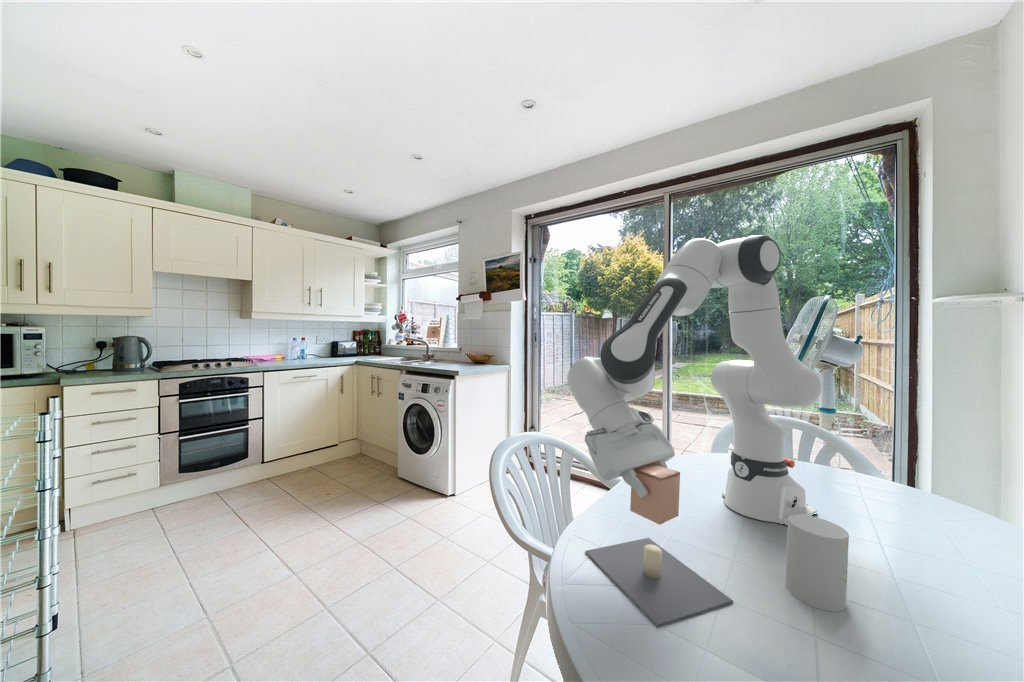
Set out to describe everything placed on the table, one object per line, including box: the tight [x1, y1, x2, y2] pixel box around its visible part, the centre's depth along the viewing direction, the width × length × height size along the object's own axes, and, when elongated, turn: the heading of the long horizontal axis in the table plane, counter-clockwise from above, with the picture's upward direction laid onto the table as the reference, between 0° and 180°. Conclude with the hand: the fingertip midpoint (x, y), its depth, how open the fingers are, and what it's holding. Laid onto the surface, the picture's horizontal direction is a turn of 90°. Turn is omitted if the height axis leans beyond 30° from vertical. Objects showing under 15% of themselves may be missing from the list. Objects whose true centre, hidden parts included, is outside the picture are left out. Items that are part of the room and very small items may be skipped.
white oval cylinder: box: [784, 515, 850, 613], centre depth 64 cm, size 8×8×12 cm
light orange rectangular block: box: [629, 463, 681, 526], centre depth 67 cm, size 6×6×8 cm
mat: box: [584, 537, 734, 628], centre depth 67 cm, size 16×20×5 cm
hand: (658, 490), depth 67 cm, fingers closed on light orange rectangular block, 6 cm apart
